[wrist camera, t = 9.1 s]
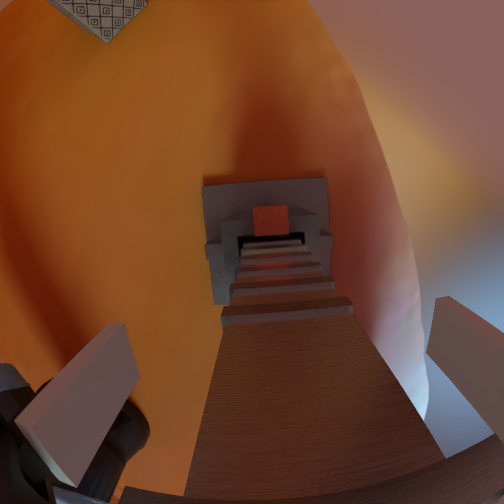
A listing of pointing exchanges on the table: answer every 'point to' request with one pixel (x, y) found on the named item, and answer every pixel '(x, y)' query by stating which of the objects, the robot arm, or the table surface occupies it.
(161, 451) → the table surface
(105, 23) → the lamp
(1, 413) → the robot arm
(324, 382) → the column
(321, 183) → the stand base
